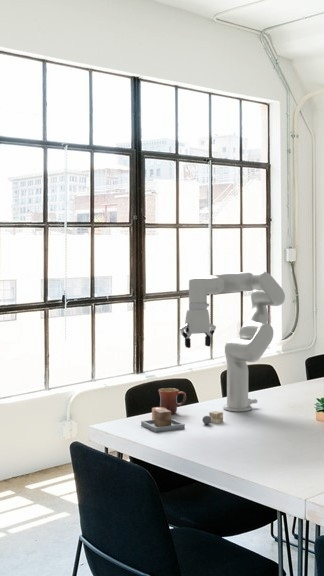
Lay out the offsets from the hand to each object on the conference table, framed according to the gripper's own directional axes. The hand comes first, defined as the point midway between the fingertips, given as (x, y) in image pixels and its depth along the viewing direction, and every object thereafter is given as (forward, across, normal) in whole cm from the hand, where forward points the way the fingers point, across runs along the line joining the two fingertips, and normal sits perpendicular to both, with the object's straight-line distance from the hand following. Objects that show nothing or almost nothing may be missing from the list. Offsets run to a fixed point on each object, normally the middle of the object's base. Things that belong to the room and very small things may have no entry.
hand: (197, 346), depth 305 cm
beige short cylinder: (+30, +17, -3) cm, 35 cm away
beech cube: (+30, -3, +10) cm, 32 cm away
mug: (+31, +6, -12) cm, 33 cm away
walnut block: (+30, +21, +8) cm, 37 cm away
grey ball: (+28, +3, +12) cm, 31 cm away
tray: (+30, +21, +8) cm, 38 cm away
